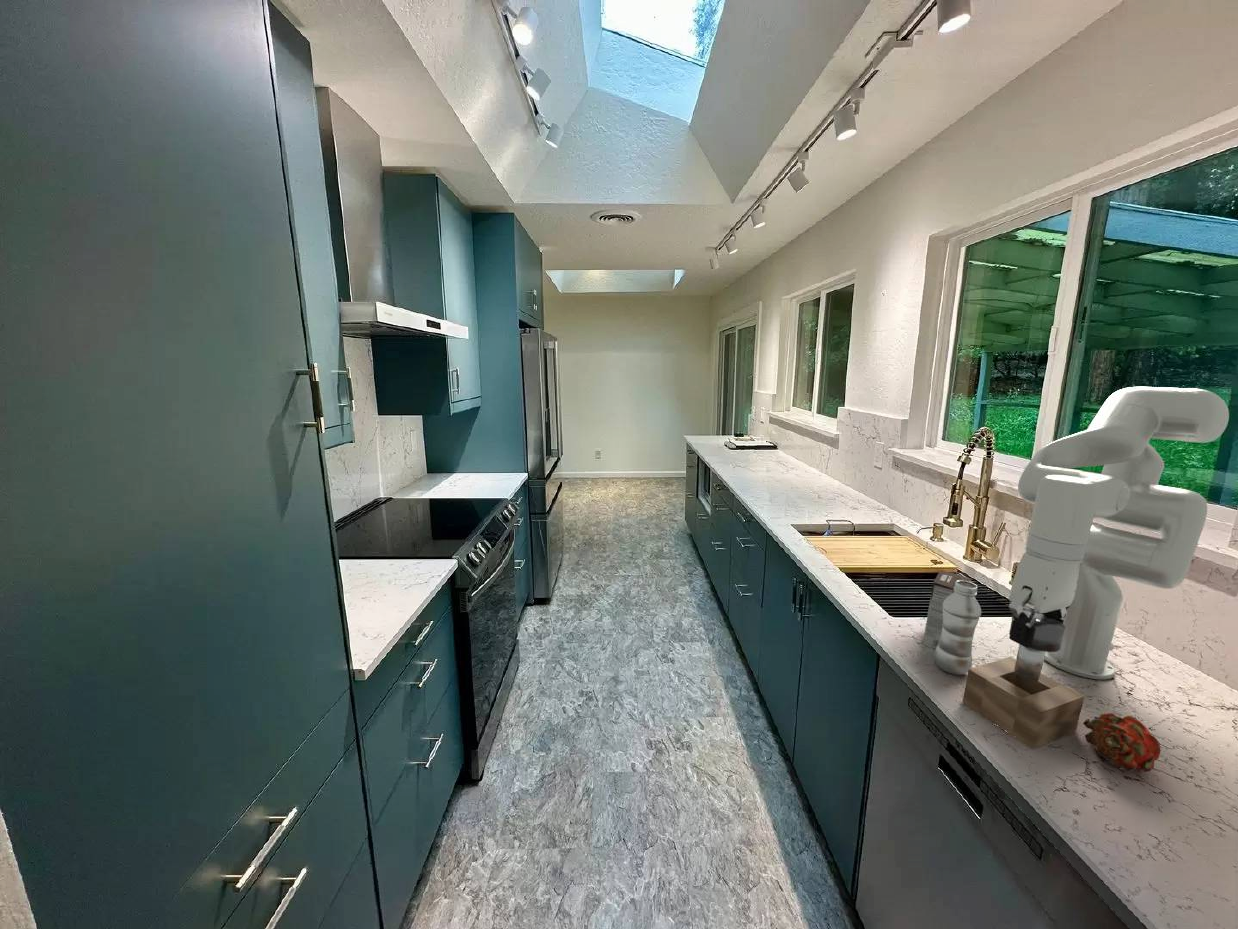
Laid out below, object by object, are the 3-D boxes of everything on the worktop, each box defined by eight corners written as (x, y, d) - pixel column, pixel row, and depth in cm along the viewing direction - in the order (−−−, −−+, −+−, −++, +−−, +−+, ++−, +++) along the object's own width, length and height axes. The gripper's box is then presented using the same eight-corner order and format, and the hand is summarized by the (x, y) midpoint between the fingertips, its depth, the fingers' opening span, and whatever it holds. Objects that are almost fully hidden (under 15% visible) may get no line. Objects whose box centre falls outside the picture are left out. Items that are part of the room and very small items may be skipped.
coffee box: (930, 629, 117) (940, 569, 114) (961, 640, 113) (973, 578, 109) (921, 644, 111) (931, 581, 107) (954, 656, 106) (966, 591, 103)
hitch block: (1003, 689, 96) (1010, 656, 94) (1075, 732, 85) (1084, 696, 83) (962, 702, 92) (968, 669, 90) (1032, 749, 81) (1041, 712, 79)
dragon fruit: (1109, 788, 75) (1105, 755, 84) (1182, 787, 70) (1170, 751, 79) (1075, 731, 78) (1075, 705, 87) (1143, 726, 73) (1136, 698, 81)
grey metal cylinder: (1017, 659, 91) (1029, 607, 88) (1061, 682, 84) (1074, 627, 82) (993, 666, 88) (1004, 613, 86) (1036, 691, 82) (1049, 634, 80)
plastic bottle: (976, 681, 98) (993, 593, 94) (940, 676, 99) (955, 589, 95) (960, 662, 104) (976, 579, 100) (927, 658, 106) (941, 575, 101)
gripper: (1060, 534, 87) (1040, 620, 91) (997, 545, 82) (979, 637, 85) (1113, 549, 81) (1089, 642, 84) (1048, 562, 75) (1025, 661, 79)
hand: (1034, 638), depth 85 cm, fingers closed on grey metal cylinder, 7 cm apart
